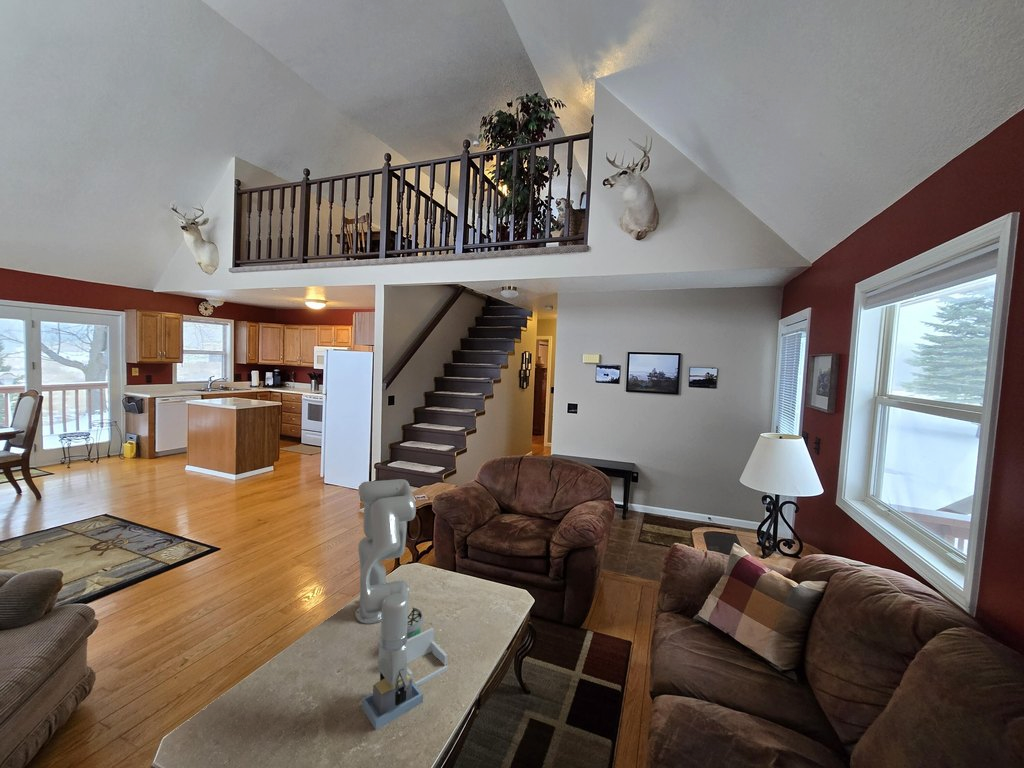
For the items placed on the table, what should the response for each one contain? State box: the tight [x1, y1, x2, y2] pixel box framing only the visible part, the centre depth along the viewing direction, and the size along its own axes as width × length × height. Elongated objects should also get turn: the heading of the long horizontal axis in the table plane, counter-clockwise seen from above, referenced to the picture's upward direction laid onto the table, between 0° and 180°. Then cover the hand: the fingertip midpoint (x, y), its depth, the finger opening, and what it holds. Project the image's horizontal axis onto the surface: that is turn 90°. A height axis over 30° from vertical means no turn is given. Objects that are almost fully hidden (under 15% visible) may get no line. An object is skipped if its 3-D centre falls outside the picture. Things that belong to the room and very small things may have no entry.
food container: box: [407, 606, 424, 639], centre depth 154 cm, size 12×6×10 cm, turn 168°
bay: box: [406, 627, 449, 688], centre depth 144 cm, size 12×14×8 cm
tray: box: [361, 680, 424, 731], centre depth 129 cm, size 10×15×3 cm, turn 132°
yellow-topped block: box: [372, 673, 413, 716], centre depth 129 cm, size 5×10×7 cm, turn 132°
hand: (392, 692), depth 129 cm, fingers open, 9 cm apart
